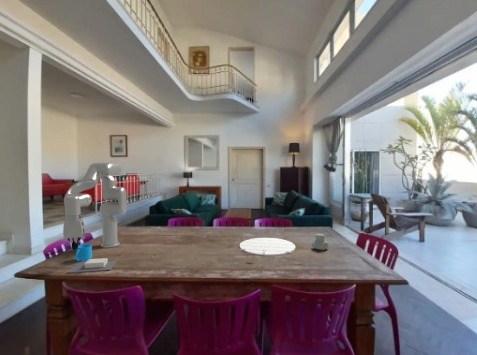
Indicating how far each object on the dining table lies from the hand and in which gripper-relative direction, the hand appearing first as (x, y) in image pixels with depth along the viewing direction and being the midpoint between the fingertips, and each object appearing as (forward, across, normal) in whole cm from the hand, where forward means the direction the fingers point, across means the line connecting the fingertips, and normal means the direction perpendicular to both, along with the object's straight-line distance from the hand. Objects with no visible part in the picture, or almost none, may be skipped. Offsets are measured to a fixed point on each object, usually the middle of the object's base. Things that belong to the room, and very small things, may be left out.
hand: (75, 249), depth 155 cm
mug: (+11, +1, -12) cm, 16 cm away
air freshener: (+12, -152, -4) cm, 153 cm away
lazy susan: (+12, -118, -16) cm, 120 cm away
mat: (+10, -10, +2) cm, 15 cm away
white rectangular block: (+8, -6, +2) cm, 11 cm away
